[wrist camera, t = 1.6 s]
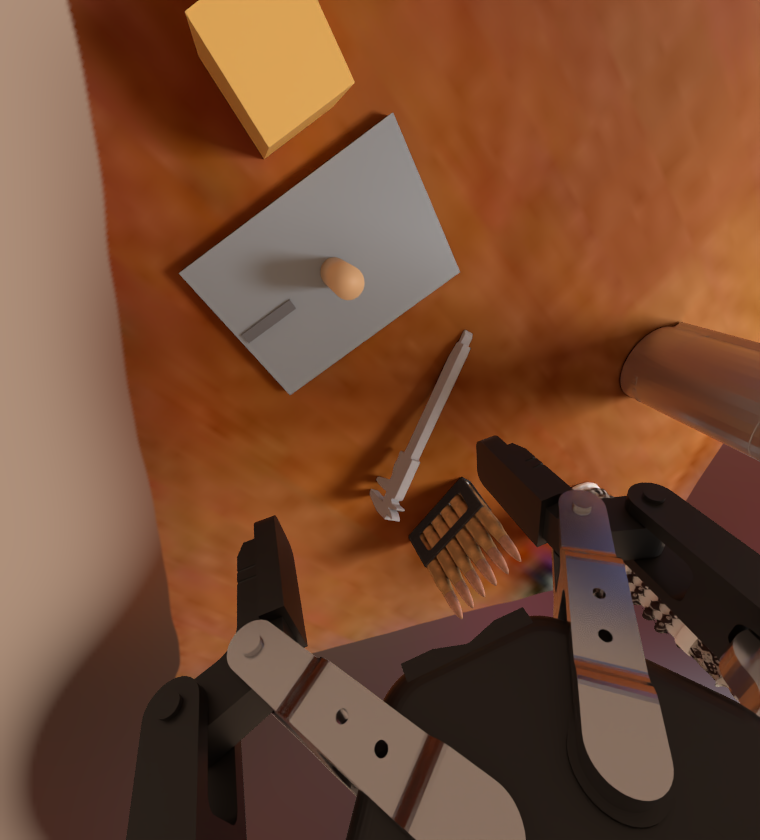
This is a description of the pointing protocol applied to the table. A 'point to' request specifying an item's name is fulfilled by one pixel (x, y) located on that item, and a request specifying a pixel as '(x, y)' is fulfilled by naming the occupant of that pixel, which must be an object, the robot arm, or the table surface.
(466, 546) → the ammunition clip
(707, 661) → the decorative candle
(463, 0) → the table surface
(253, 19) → the mustard yellow cube
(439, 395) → the caliper
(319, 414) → the table surface
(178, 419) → the table surface
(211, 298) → the post board
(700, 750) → the robot arm
